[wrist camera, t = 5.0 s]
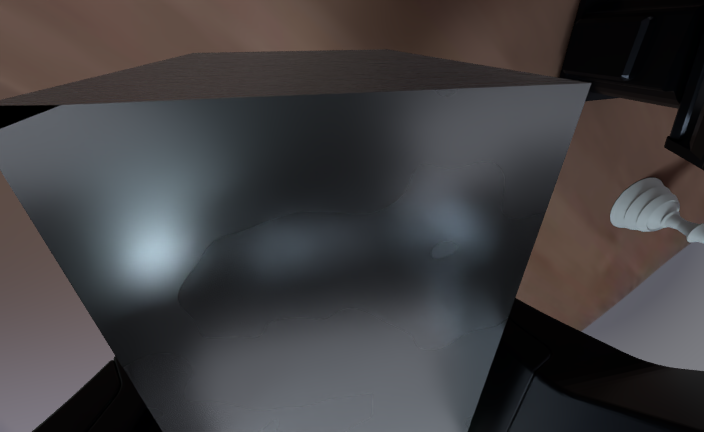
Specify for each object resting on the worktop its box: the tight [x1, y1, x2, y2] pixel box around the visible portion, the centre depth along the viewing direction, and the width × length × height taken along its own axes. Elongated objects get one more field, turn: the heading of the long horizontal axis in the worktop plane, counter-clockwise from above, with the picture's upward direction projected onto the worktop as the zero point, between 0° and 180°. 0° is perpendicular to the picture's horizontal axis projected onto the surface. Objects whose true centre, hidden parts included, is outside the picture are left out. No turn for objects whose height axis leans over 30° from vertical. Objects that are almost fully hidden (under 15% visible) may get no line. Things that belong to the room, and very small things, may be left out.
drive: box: [0, 49, 591, 432], centre depth 7 cm, size 5×10×6 cm, turn 1°
